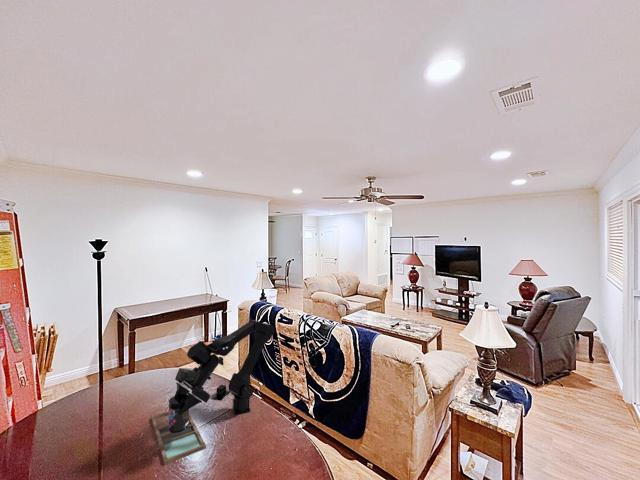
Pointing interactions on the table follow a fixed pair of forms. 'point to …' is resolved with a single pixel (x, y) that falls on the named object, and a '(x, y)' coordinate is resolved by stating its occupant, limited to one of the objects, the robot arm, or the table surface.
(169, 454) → the compartment sorting tray
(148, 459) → the table surface
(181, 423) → the supplement container
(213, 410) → the table surface
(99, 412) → the table surface
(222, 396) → the black box
